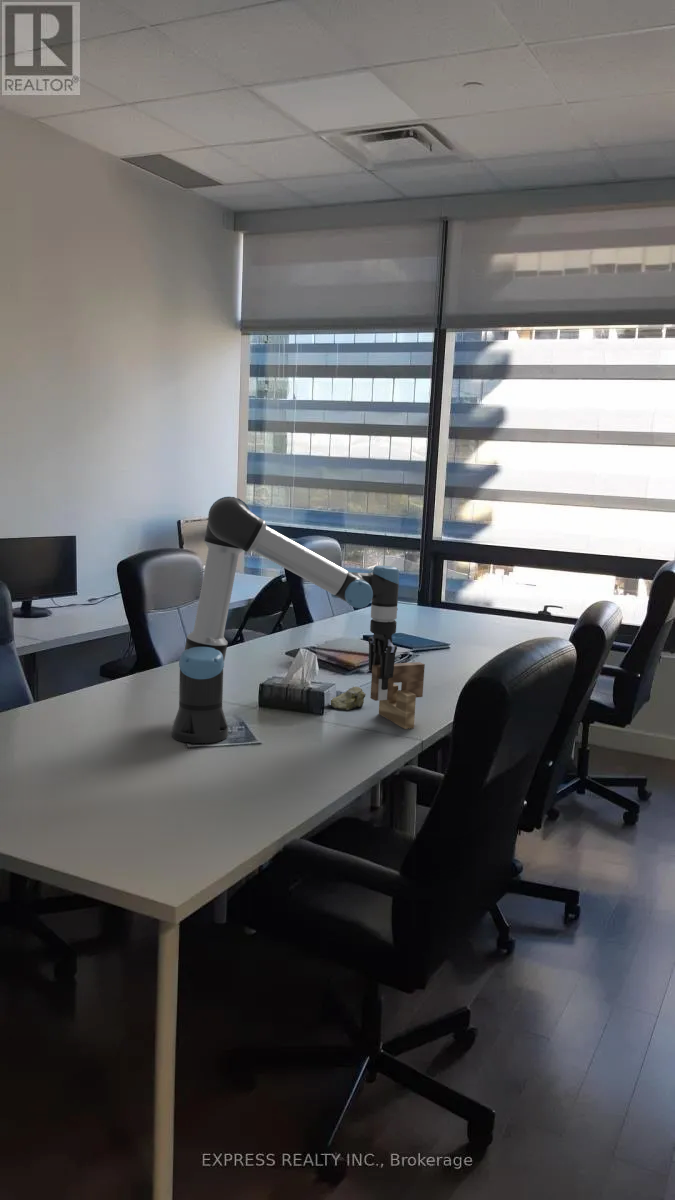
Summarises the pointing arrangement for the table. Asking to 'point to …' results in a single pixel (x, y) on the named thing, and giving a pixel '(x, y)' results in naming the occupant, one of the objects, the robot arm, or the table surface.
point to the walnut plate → (400, 679)
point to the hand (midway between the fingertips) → (379, 697)
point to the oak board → (399, 708)
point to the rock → (349, 699)
